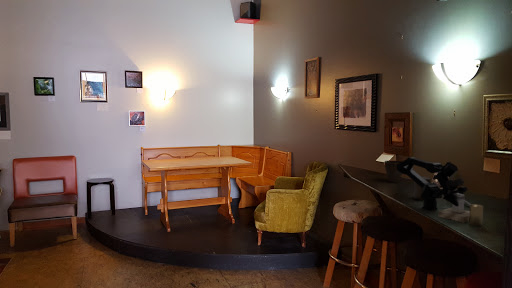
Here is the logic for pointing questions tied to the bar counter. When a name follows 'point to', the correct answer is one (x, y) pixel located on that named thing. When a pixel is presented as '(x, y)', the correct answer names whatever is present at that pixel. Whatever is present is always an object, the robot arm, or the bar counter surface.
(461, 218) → the bore block
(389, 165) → the plant pot
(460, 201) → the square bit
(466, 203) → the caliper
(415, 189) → the pillar candle
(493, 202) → the bar counter surface
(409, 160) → the robot arm
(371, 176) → the bar counter surface
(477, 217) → the beige rectangular block
